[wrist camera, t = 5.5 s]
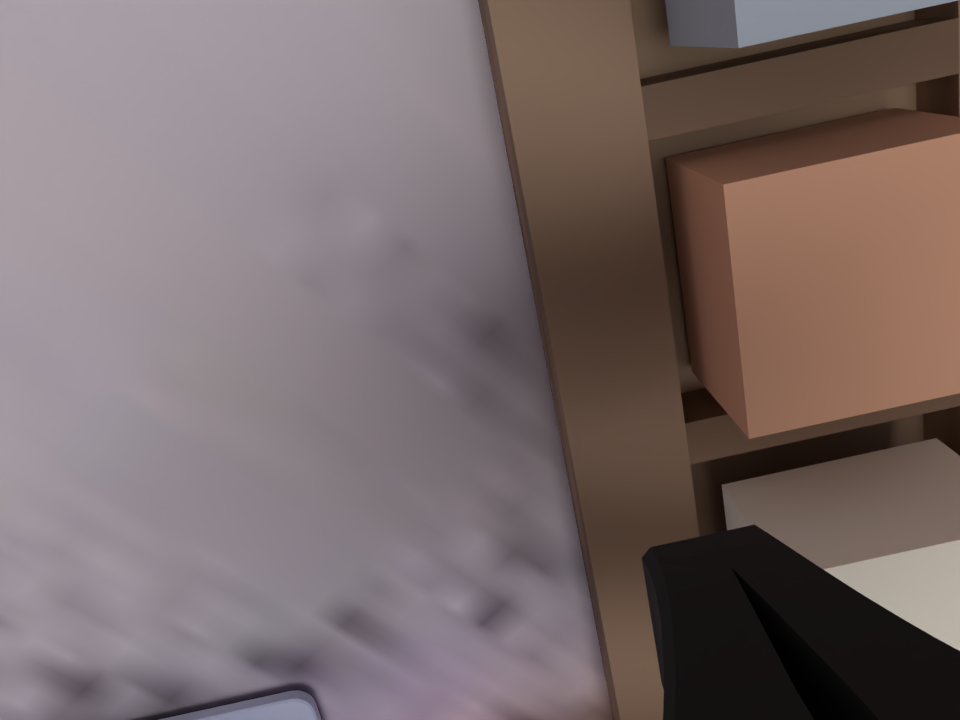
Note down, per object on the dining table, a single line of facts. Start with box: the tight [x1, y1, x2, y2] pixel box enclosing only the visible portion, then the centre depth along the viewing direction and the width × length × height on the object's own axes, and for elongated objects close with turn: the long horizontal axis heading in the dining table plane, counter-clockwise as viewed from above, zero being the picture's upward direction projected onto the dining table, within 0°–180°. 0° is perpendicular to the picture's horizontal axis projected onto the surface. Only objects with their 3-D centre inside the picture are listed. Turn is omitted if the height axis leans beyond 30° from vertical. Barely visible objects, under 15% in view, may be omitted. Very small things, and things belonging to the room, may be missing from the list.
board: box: [478, 0, 960, 720], centre depth 18 cm, size 26×11×2 cm, turn 11°
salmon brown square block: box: [666, 108, 960, 439], centre depth 17 cm, size 5×5×4 cm
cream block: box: [722, 438, 960, 651], centre depth 18 cm, size 5×5×4 cm
